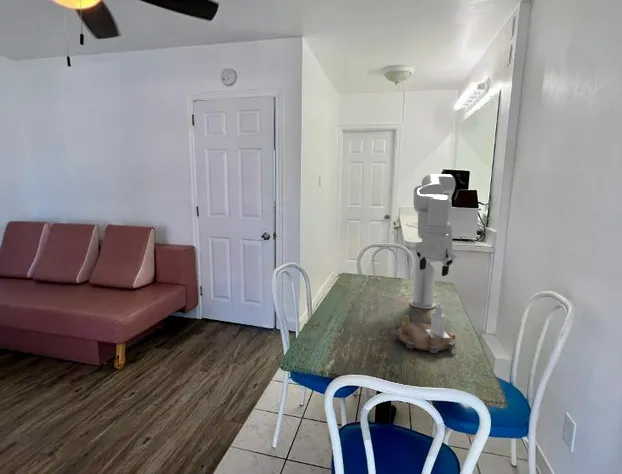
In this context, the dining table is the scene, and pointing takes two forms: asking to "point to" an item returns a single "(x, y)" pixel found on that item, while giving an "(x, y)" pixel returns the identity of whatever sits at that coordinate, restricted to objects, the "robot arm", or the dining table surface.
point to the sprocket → (423, 336)
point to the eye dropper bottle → (438, 321)
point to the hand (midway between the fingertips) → (433, 272)
